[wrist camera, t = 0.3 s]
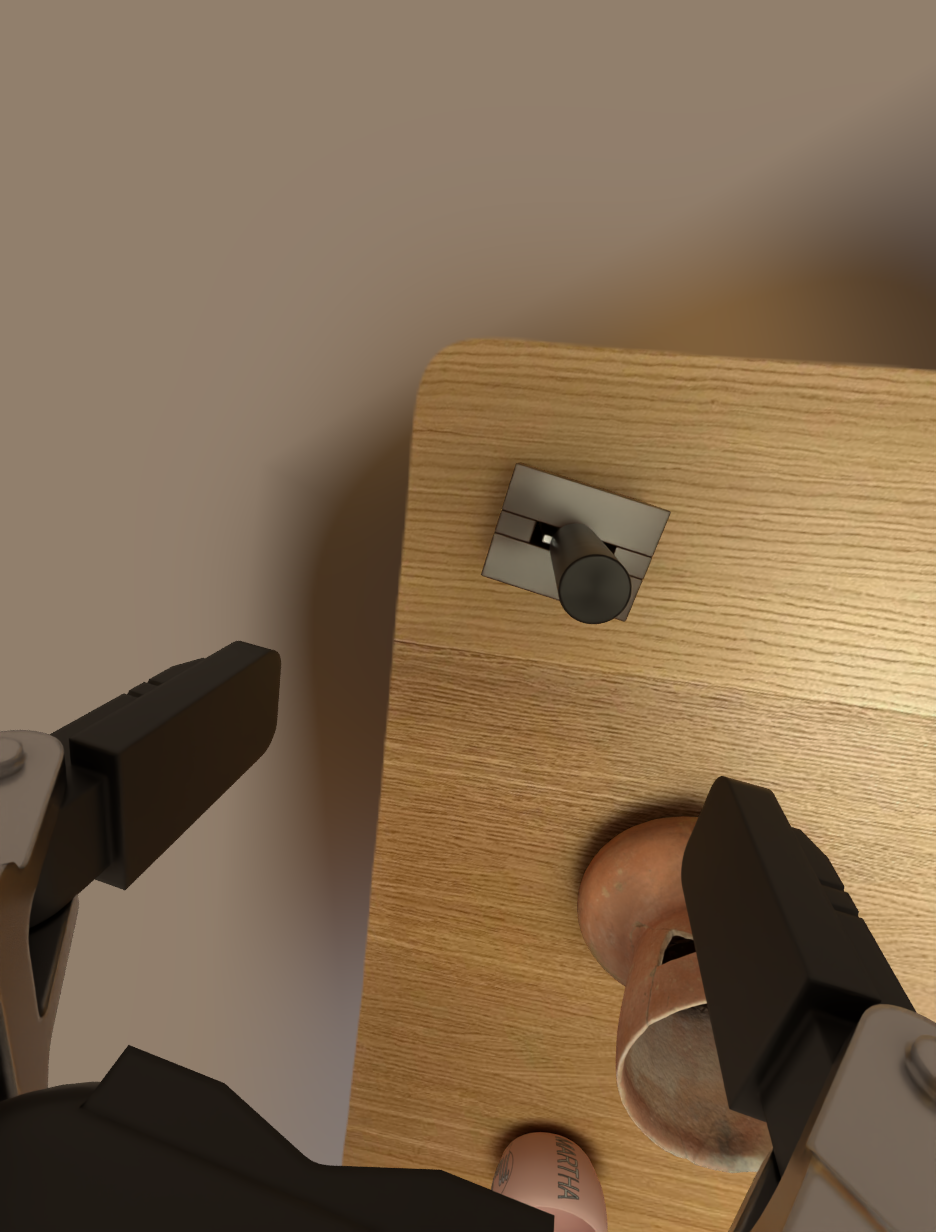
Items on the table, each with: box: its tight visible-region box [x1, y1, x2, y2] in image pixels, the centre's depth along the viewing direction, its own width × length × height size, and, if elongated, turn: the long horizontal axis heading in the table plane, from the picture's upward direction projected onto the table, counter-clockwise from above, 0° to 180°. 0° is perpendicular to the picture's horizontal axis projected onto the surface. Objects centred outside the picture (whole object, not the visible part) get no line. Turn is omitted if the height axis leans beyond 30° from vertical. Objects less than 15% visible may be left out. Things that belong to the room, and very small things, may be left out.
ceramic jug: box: [577, 816, 773, 1173], centre depth 34 cm, size 18×14×14 cm
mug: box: [491, 1132, 607, 1232], centre depth 47 cm, size 12×10×6 cm
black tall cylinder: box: [540, 522, 632, 624], centre depth 26 cm, size 2×3×17 cm
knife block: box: [481, 463, 671, 621], centre depth 30 cm, size 6×8×7 cm
